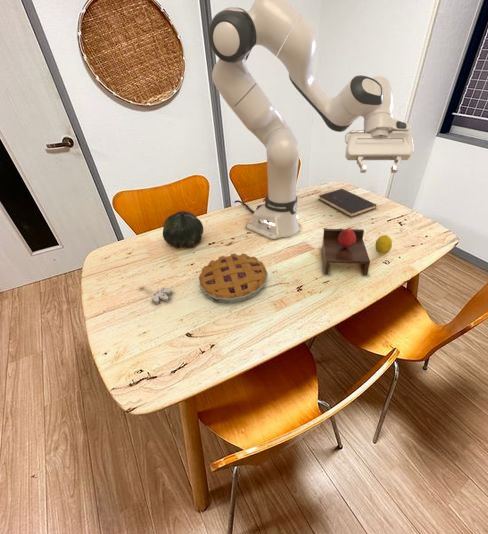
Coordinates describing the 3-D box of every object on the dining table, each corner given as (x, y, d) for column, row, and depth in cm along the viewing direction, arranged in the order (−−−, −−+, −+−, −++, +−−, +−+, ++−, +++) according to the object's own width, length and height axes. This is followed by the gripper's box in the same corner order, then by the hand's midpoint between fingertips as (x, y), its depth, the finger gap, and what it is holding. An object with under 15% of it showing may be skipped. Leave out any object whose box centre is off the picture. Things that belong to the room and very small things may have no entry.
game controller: (165, 305, 83) (163, 299, 82) (131, 301, 85) (128, 295, 84) (174, 292, 88) (172, 286, 86) (141, 289, 89) (139, 282, 88)
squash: (165, 221, 113) (156, 206, 99) (202, 218, 116) (199, 203, 102) (168, 255, 111) (160, 244, 96) (206, 250, 114) (204, 239, 100)
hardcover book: (351, 217, 124) (351, 212, 123) (318, 199, 140) (318, 195, 138) (376, 208, 131) (376, 204, 129) (342, 192, 146) (342, 188, 145)
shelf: (321, 249, 105) (323, 228, 99) (359, 250, 104) (363, 229, 99) (324, 274, 93) (327, 252, 88) (366, 275, 92) (372, 253, 87)
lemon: (389, 259, 99) (395, 240, 94) (373, 257, 100) (378, 238, 95) (388, 250, 104) (393, 231, 99) (372, 248, 105) (377, 230, 100)
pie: (194, 272, 95) (191, 261, 92) (254, 256, 102) (253, 245, 99) (209, 316, 80) (206, 303, 77) (278, 293, 86) (278, 281, 83)
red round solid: (343, 254, 92) (347, 233, 87) (333, 246, 96) (336, 225, 91) (357, 249, 94) (361, 229, 89) (346, 241, 98) (350, 221, 93)
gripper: (346, 124, 85) (346, 167, 84) (415, 123, 84) (416, 167, 82) (343, 136, 92) (343, 176, 90) (406, 136, 90) (407, 176, 89)
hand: (378, 172), depth 86 cm, fingers open, 8 cm apart
